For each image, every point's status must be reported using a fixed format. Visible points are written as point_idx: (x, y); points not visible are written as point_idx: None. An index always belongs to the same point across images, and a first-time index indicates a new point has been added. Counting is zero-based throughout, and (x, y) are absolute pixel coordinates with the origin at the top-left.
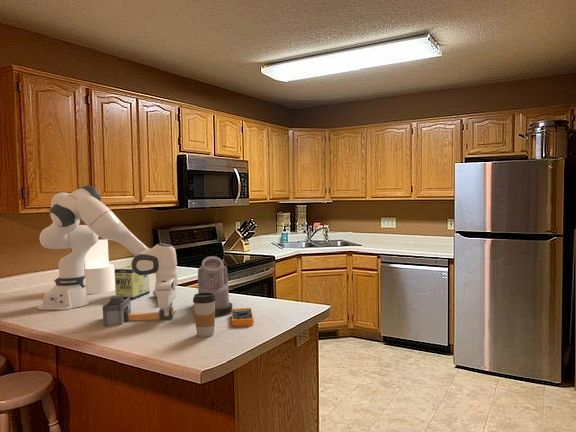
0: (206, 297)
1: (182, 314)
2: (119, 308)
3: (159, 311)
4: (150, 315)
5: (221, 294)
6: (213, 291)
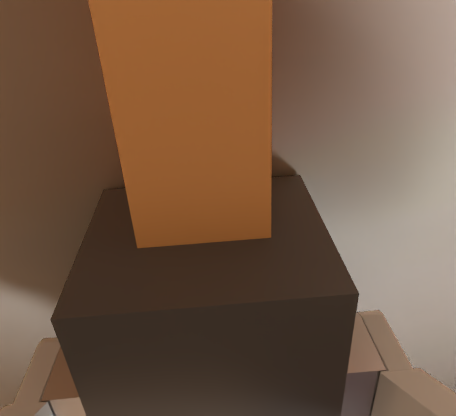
0: None
1: None
2: None
3: (64, 302)
4: (98, 1)
5: None
6: None
